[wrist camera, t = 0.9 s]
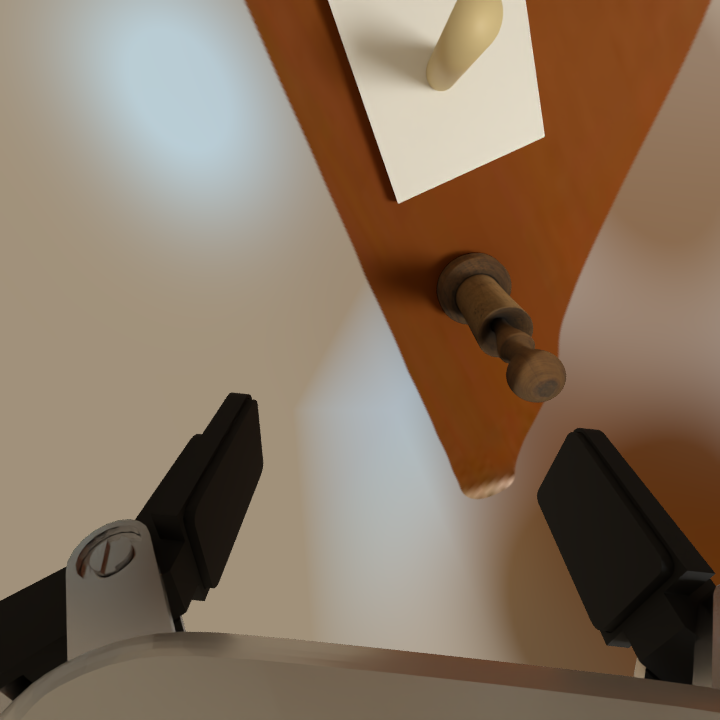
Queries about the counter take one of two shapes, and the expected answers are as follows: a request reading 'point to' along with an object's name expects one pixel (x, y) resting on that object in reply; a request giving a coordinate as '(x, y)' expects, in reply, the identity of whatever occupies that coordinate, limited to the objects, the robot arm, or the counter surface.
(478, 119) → the post board
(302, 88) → the counter surface
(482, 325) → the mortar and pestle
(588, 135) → the counter surface
